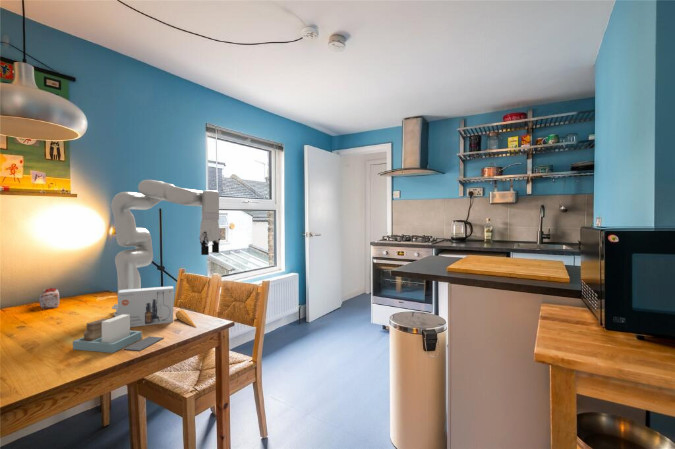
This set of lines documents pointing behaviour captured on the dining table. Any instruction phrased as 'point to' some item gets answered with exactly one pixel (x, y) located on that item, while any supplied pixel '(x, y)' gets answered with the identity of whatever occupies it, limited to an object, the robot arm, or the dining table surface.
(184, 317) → the carrot
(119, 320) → the white upright slab
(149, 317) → the skincare box
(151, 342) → the mat
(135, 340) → the tray
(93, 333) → the offcut middle
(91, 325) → the offcut top
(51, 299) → the food item
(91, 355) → the dining table surface
